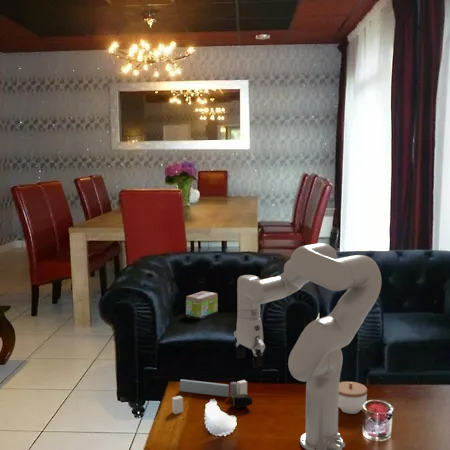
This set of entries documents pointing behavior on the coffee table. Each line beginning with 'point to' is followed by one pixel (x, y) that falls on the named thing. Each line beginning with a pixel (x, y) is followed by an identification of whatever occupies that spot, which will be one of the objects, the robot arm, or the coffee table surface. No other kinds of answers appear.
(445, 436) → the coffee table surface
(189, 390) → the long grey bar
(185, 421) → the coffee table surface
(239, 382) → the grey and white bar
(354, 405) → the lidded jar
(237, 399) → the tape measure
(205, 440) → the coffee table surface
